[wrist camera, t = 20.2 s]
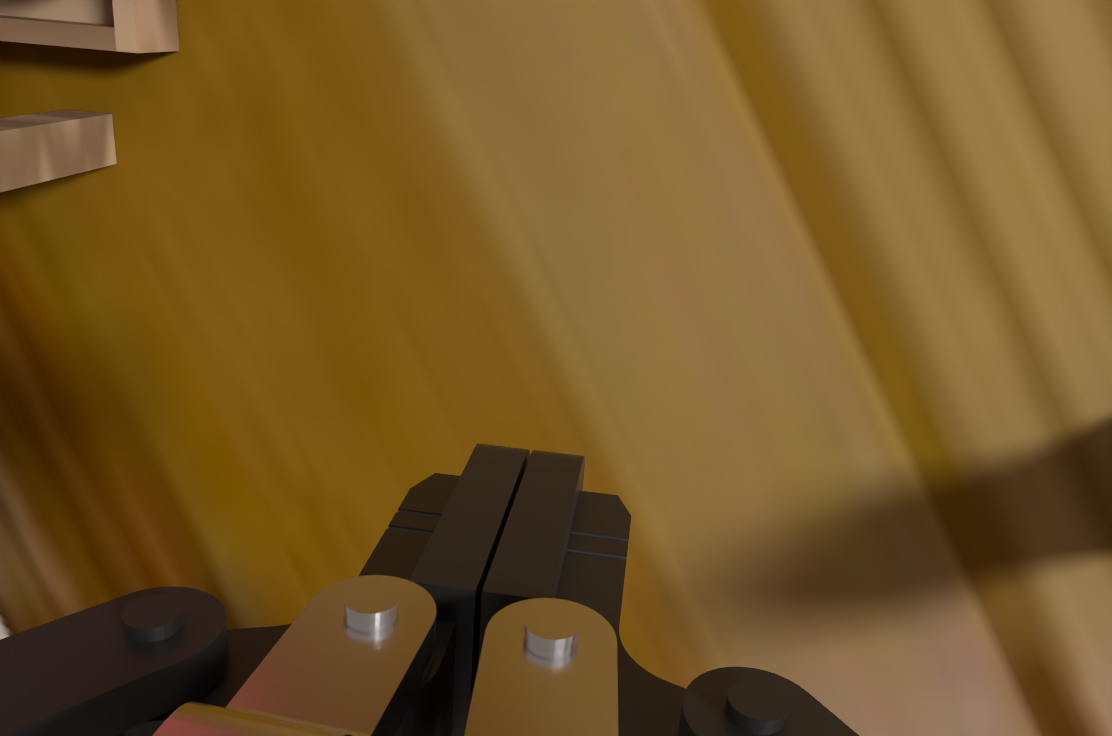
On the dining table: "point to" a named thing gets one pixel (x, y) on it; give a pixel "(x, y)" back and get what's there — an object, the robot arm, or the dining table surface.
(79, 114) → the stool
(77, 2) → the caddy
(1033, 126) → the dining table surface
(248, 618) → the dining table surface
